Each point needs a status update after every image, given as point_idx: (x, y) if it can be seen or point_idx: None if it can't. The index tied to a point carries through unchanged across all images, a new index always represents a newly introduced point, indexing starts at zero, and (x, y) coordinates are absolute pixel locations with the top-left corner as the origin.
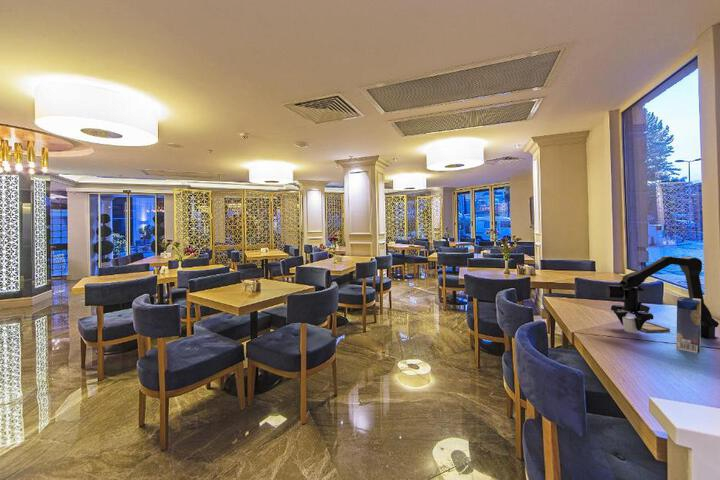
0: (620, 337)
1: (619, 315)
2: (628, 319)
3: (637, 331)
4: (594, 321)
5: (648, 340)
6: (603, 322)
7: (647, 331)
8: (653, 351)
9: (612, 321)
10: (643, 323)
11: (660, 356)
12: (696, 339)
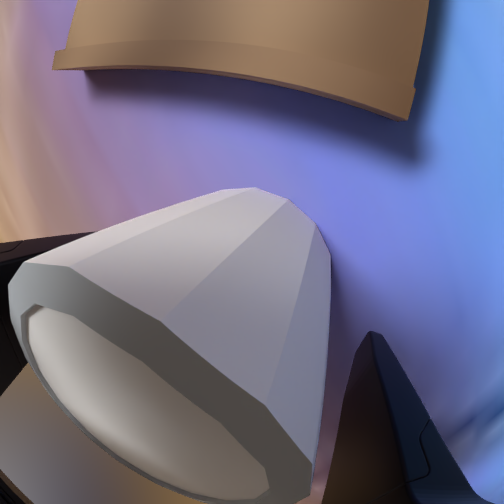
0: (322, 474)
1: (10, 367)
2: (198, 500)
3: (330, 279)
4: (11, 241)
5: (480, 416)
6: (19, 204)
7: (399, 119)
8: (487, 494)
9: (12, 102)
10: (441, 461)
11: (501, 500)
12: None
